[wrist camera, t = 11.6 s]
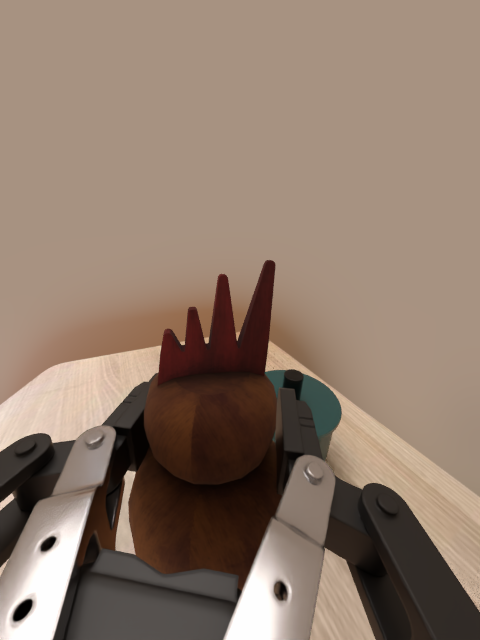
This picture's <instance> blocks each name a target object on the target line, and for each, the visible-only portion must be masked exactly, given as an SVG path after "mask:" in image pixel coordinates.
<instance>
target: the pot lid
mask: <svg viewBox="0 0 480 640" xmlns="http://www.w3.org/2000/svg"><path fill="white" fill-rule="evenodd" d="M265 374H266V376H267V377H268V378H269V380H270V381H271V382H272V384H273V385H274V389H275V393H276V397H277V398H278V391H279V387H280V388H288V389H294V390H295V395H296V400H298V401H305V402H306V403H307V405H308V406H309V407H310V409H311V411H312V415H313V420H314V424H315V428H316V432H317V436H318V439H321V438H323V437H326V436H328V435H329V434H331V433H332V432H333V431H334V430H335V429H336V428H337V426H338V425H339V423H340V420H341V414H342V412H341V406H340V403H339V401H338V399H337V397H336V396H335V394H334V393H333V392H332V391H331V390H330V389H329V388H328V387H327V386H326V385H324V384H323V383H321V382H320V381H318V380H316V379H315V378H312V377H310V376H308V375H305V374H302V373H301V372H300V371H297V370H292V369H291V370H273V371H267V372H265ZM274 435H275V433H274Z"/></svg>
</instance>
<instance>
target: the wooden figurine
mask: <svg viewBox="0 0 480 640" xmlns="http://www.w3.org/2000/svg"><path fill="white" fill-rule="evenodd" d="M274 275H275V262H274V261H271V260H267V261H265V263H264V265H263V268H262V271H261V274H260V277H259V280H258V283H257V286H256V289H255V291H254V294H253V297H252V300H251V303H250V306H249V309H248V312H247V315H246V318H245V320H244V323H243V326H242V329H241V332H240V335H239V338H238V341H237V340H236V333H235V327H234V318H233V312H232V304H231V297H230V290H229V283H228V277H227V276H226V275H225V274H220V275H219V276H218V281H217V288H216V295H215V302H214V309H213V316H212V323H211V330H210V337H209V343H208V344H206V343H205V341H204V337H203V332H202V329H201V324H200V320H199V316H198V312H197V309H196V307H189V309H188V316H187V327H186V338H185V345H181V344H180V342H179V341H178V339H177V337H176V336H175V334H174V333H173V331H172V330H171V329H166V330H165V331H164V335H163V341H162V347H161V353H160V364H159V373H158V374H157V375H156V377H155V378H154V379H153V380H152V382H151V384H150V388H149V391H148V395H147V399H146V404H145V409H144V428H145V432H146V436H147V440H148V442H149V445H150V446H149V448H148V450H147V453H146V456H145V458H144V460H143V462H142V464H141V465H140V467H139V469H138V471H137V472H136V474H135V478H134V482H133V486H132V490H131V494H130V498H129V502H128V504H129V522H130V527H131V532H132V537H133V543H134V548H135V553H136V556H137V557H139V558H140V559H142V560H143V561H145V562H146V563H148V564H149V565H151V566H152V567H154V568H155V569H157V570H158V571H160V572H161V573H163V574H172V573H178V572H184V571H190V570H196V569H202V568H205V569H210V570H215V571H220V572H225V573H230V574H235V575H239V578H238V589H240V590H241V591H242V590H243V588H244V585H245V583H246V580H247V577H248V575H249V572H250V570H251V567H252V565H253V562H254V560H255V557H256V554H257V552H258V549H259V547H260V544H261V542H262V539H263V537H264V534H265V531H266V529H267V526H268V524H269V522H270V519H271V517H272V516H273V515H275V513H276V510H277V508H278V505H279V503H280V500H281V497H282V495H280V494H277V485H276V483H277V456H276V447H275V442H274V441H273V440H272V439H273V436H274V433H275V430H276V411H277V397H276V393H275V389H274V385H273V384H272V382H271V381H270V380H269V378H268V377H267V376H266V374H265V367H266V359H267V351H268V342H269V331H270V320H271V308H272V297H273V286H274Z"/></svg>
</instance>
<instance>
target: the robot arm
mask: <svg viewBox="0 0 480 640" xmlns="http://www.w3.org/2000/svg"><path fill="white" fill-rule="evenodd" d="M157 374H158V373H156V374H155V375H154V376H153V377H152V378H151V379H150V381H149V382H143V383H141V384H140V385H138V386H137V387H135V388H134V389H133V390H132V391H131V392H130V394H129V395H128V396H127V397H126V398H125V399H124V400H123V403H121V404H120V405H119V406H118V407H117V408H116V409H115V411H114V412H113V413H112V414H111V415H110V416H109V417H108V419H107V420H106V421H105V422H104V423H103V424H102V425H101V426H97V427H94V428H91V429H89V430H87V431H86V432H84V433H83V434H81V435H80V436H79V437H78V438H77V440H73V441H65V442H58V443H52V440H51V437H50V436H49V435H47V434H43V433H38V434H33V435H29V436H26V437H24V438H22V439H20V440H18V441H16V442H14V443H13V444H11V445H10V446H8V447H7V448H6V449H4V450H3V451H1V452H0V502H2V501H3V500H4V499H5V498H6V497H8V496H9V495H10V494H11V493H12V494H13V496H14V499H13V500H12V501H11V502H10V503H9V504H8V505H6V506H5V507H4V508H3V509H2V510H1V511H0V567H1V566H2V565H3V564H4V563H5V562H6V561H7V560H8V559H9V560H8V562H7V564H6V566H5V568H4V570H3V573H2V575H1V577H0V640H310V634H311V629H312V623H313V617H314V611H315V606H316V600H317V594H318V589H319V583H320V577H321V571H322V566H323V560H324V552H325V548H327V549H328V550H330V551H332V552H333V553H335V554H337V555H338V556H340V557H342V558H344V559H345V560H346V561H347V564H348V566H349V569H350V572H351V574H352V577H353V580H354V583H355V585H356V588H357V591H358V593H359V596H360V599H361V601H362V604H363V607H364V609H365V612H366V615H367V617H368V620H369V623H370V625H371V628H372V631H373V633H374V636H375V639H376V640H480V612H479V610H478V609H477V607H476V606H475V604H474V603H473V601H472V600H471V599H470V597H469V596H468V594H467V593H466V591H465V590H464V588H463V587H462V585H461V584H460V582H459V581H458V579H457V578H456V576H455V575H454V573H453V572H452V570H451V569H450V567H449V566H448V564H447V563H446V561H445V560H444V558H443V557H442V555H441V554H440V552H439V551H438V549H437V548H436V547H435V545H434V544H433V542H432V541H431V539H430V538H429V536H428V535H427V533H426V532H425V530H424V529H423V527H422V526H421V524H420V523H419V521H418V520H417V518H416V517H415V515H414V514H413V512H412V511H411V509H410V508H409V506H408V505H407V504H406V502H405V501H404V500H403V499H402V498H401V497H400V496H399V495H398V494H397V493H396V492H394V491H393V490H392V489H390V488H388V487H386V486H384V485H381V484H378V483H370V484H367V485H366V486H364V488H363V490H362V489H359V488H357V487H355V486H353V485H351V484H349V483H346V482H344V481H342V480H341V479H339V478H338V477H336V476H335V475H334V473H333V471H332V469H331V468H330V466H329V465H328V464H327V463H326V462H325V461H323V457H322V453H321V449H320V445H319V441H318V436H317V432H316V428H315V424H314V420H313V415H312V411H311V409H310V407H309V406H308V405H307V403H306V402H305V401H298V400H296V395H295V390H294V389H288V388H280V387H279V391H278V398H277V411H276V430H275V447H276V456H277V483H276V485H277V494H280V495H282V497H281V500H280V503H279V505H278V508H277V510H276V513H275V515H273V516H272V517H271V519H270V522H269V524H268V526H267V529H266V531H265V534H264V537H263V539H262V542H261V544H260V547H259V549H258V552H257V554H256V557H255V560H254V562H253V565H252V567H251V570H250V572H249V575H248V577H247V580H246V583H245V585H244V588H243V590H242V591H241V590H240V589H238V578H239V575H235V574H230V573H225V572H220V571H215V570H210V569H205V568H202V569H196V570H190V571H184V572H178V573H172V574H163V573H161V572H160V571H158V570H157V569H155V568H154V567H152V566H151V565H149V564H148V563H146V562H145V561H143V560H142V559H140V558H139V557H137V556H136V555H134V554H129V553H124V552H119V551H115V541H116V532H117V526H118V520H119V515H120V509H121V503H122V497H123V491H124V486H125V479H124V475H125V474H126V472H127V470H129V471H135V472H137V471H138V469H139V467H140V465H141V464H142V462H143V460H144V458H145V456H146V453H147V450H148V448H149V446H150V445H149V442H148V440H147V436H146V432H145V428H144V409H145V404H146V399H147V395H148V391H149V388H150V384H151V382H152V380H153V379H154V378H155V377H156V375H157ZM324 547H325V548H324Z"/></svg>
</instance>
